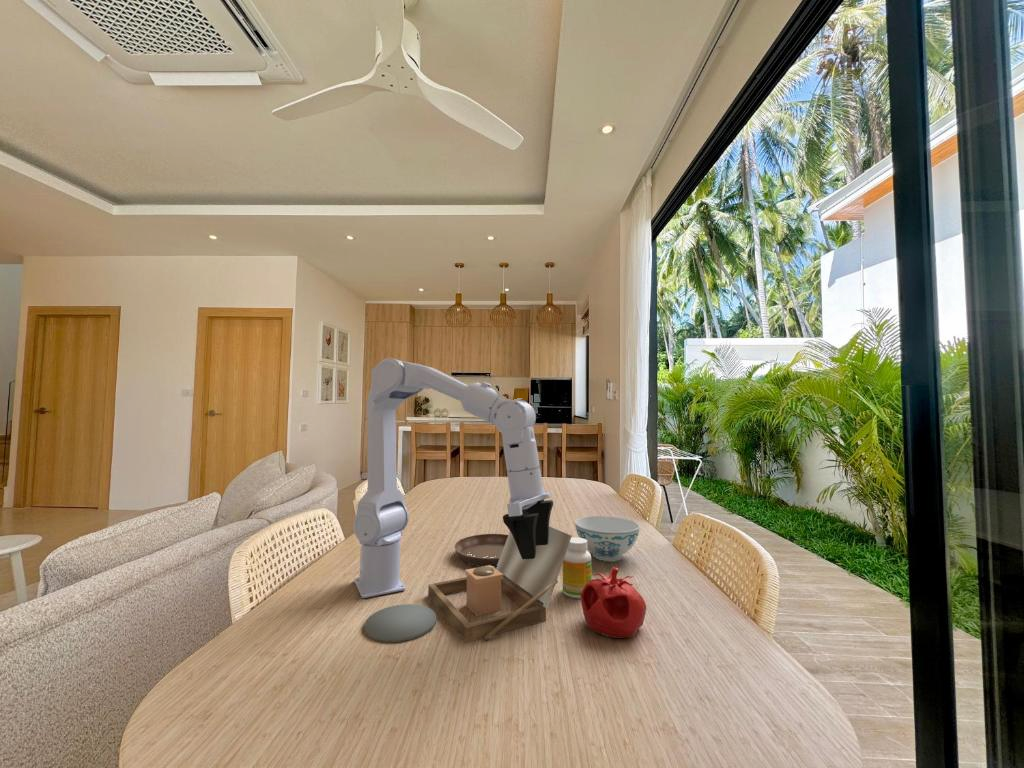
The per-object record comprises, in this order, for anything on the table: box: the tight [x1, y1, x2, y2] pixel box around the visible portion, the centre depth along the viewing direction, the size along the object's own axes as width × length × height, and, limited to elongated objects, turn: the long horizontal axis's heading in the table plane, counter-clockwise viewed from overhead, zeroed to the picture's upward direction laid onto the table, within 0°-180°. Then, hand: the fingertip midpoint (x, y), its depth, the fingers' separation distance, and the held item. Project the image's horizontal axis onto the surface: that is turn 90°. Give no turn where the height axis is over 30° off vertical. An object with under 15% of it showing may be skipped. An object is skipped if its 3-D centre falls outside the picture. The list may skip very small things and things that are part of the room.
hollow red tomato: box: [580, 566, 647, 639], centre depth 66 cm, size 10×10×9 cm
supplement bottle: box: [562, 536, 592, 599], centre depth 79 cm, size 5×5×10 cm
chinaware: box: [574, 515, 641, 562], centre depth 99 cm, size 15×15×8 cm
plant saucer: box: [454, 533, 509, 567], centre depth 99 cm, size 18×18×3 cm
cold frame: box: [427, 525, 573, 643], centre depth 74 cm, size 19×19×13 cm
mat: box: [364, 603, 437, 643], centre depth 67 cm, size 11×11×1 cm
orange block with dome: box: [464, 565, 503, 617], centre depth 73 cm, size 5×5×6 cm
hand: (535, 551), depth 70 cm, fingers open, 7 cm apart
